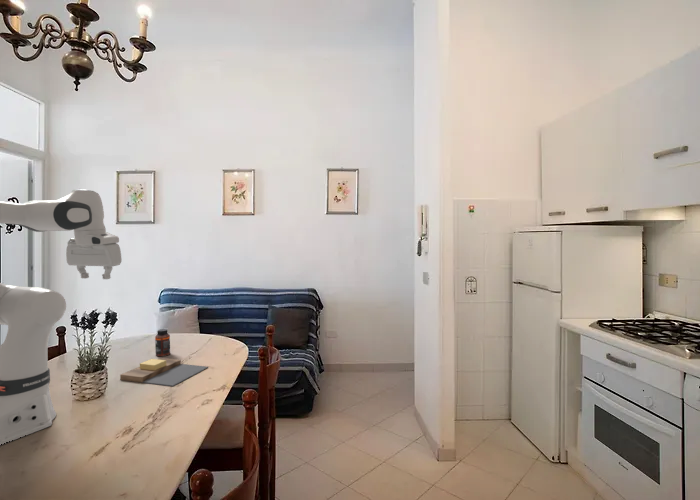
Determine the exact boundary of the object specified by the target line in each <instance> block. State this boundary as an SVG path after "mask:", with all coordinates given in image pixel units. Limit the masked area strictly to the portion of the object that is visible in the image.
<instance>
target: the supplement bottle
mask: <svg viewBox="0 0 700 500" xmlns="http://www.w3.org/2000/svg"><path fill="white" fill-rule="evenodd" d="M154 338H155V339H154V343H155V347H154V348H155V349H154V350H155V356H156V357H165V356H169V355H170V354H171V336H170V334H169V333H168V329H167V328H161V329H158V330H157V333H156V335H155V337H154Z"/></svg>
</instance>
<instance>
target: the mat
mask: <svg viewBox="0 0 700 500" xmlns="http://www.w3.org/2000/svg"><path fill="white" fill-rule="evenodd" d="M206 368H207V369H209V366H206V365H205V366H204V365H196V364H186V363H185V364H184V363H181V364H180V365H178V366H175V367H173V368H171V369H169V370H167V371H165V372H163V373H160V374H158V375H156V376H154V377H152V378H150V379H147V380H145V381H143V383H142V384H147V385H148V384H149V385H157V386H158V385H159V386H163V387H164V386H165V387H174V386H176V385H179V384H181V383H182V382H185V381H186V380H189V379H190V378H192V377H194V376H195V375H197V374H199V373H201V372H203V371H205V370H207V369H206ZM204 369H205V370H204ZM193 375H194V376H193Z"/></svg>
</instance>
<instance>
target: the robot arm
mask: <svg viewBox="0 0 700 500" xmlns="http://www.w3.org/2000/svg"><path fill="white" fill-rule="evenodd" d="M104 219H105V212H104V205H103V201H102V198H101V196H100V194H99V193H98V192H97V191H94V190H90V189H81V188H79V189H73V190H72V191H71V192H70V193H69V194H67V195H65V196H64V197H61V198H58V199H56V200H55V199H54V200H53V199H51V200H41V199H40V200H39V199H37V200H36V199H34V200H28V201H25V202H22V203H17V202H16V203H15V202H7V201H0V224H3V225H4V224H6V225H18V226H20V227H23V228H25V229H27V230H29V231H31V232H36V233H40V232H41V233H43V232H64V231H65V232H69V231H72V230H73V234H74V238H73V237H72V238H70V239H69V240H68V241H67V242H66V243H67V245H66V251H65V252H66V254H65V255H66V263H67V264H68V266H76V269H77V271H78V273H79V274H80V278H81V279H89V278H90V273H89V272H87V270H86V266H87V267H103V270H104V273H102V274H101V276H102V280H110V279H111V278H112V277H111V273H112V270H113V267H117V266H119V265H121V264H122V253H121V247H120V245H119V244H118V243H119V242H120V238H119V236H118V235H115V234H112V233H110V232H107V229H106V226H105V222H104ZM66 310H67V301H66V299H65V297H64V295H62V294H61V293H60V292H58V291H54V290H52V289H49V288H46V287H39V286H37V287H36V286H22V285H21V286H20V285H13V284H12V285H11V284H7V283H3V282H2V283H1V282H0V325H2V326H7V333H6V336H5V339H4V341H3V343H1V344H0V446H2V445H4V443H5V444H7V443H6V442H8V443H10V442H12V440H13V441H15V440H17V439H20V437H21V438H23V437H26V436H28V435H30V434H33V433H36V432H39V431H40V430H43V429H47V428H48V427H51V426H53V425H52V424H53V421H54V419H55V418H56V416H57V412H56V410H55V407H54V405H53V401H52V396H51V392H50V382H51V371H50V368H49V367H48V366H49V365H48V361H49V360H48V358H49V357H48V351H49V350H48V347H49V346H48V345H49V339H50V336H51V333H52V330H53V328H54V326H55V325H56V323H57V322H59V320H61V319H62V318H63V316H64V315H65V313H66ZM25 435H26V436H25ZM9 441H10V442H9ZM1 444H2V445H1Z"/></svg>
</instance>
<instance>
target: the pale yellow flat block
mask: <svg viewBox="0 0 700 500" xmlns="http://www.w3.org/2000/svg"><path fill="white" fill-rule="evenodd" d="M158 359H159V358H151V359H148V360H145V361H142V362H141V363H139V367H140V369H146V370H157V369H159V368H161V367H164V366H166V360H158Z"/></svg>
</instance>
